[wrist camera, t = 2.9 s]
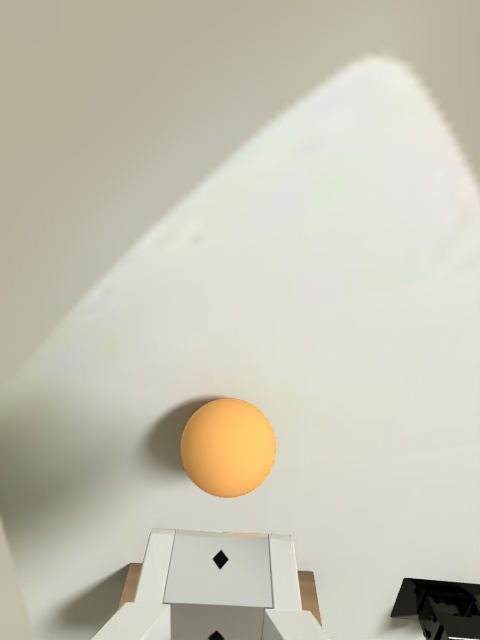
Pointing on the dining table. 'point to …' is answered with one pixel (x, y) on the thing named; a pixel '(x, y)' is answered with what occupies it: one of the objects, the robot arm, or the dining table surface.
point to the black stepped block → (440, 608)
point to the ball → (228, 447)
